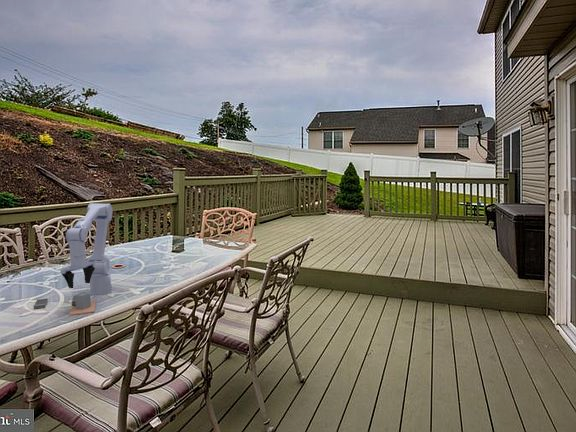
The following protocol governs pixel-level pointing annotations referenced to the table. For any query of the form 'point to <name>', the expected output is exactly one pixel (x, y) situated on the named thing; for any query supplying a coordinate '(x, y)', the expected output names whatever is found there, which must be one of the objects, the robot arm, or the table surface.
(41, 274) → the table surface
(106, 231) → the robot arm
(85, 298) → the plug
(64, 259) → the table surface
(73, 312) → the mat
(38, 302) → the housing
